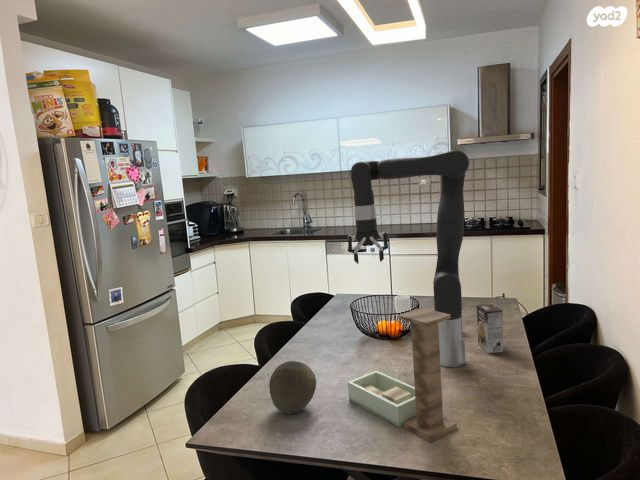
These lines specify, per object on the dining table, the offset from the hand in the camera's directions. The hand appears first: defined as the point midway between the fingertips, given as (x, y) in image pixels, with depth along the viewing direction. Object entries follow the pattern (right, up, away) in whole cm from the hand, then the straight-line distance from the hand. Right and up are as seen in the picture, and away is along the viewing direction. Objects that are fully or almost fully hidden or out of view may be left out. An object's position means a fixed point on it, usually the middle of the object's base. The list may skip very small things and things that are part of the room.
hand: (369, 262), depth 173 cm
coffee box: (+47, -33, +9) cm, 58 cm away
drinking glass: (+19, -32, +37) cm, 52 cm away
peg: (+2, -41, -28) cm, 50 cm away
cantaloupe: (-26, -44, -26) cm, 58 cm away
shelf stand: (+12, -43, -42) cm, 62 cm away
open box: (+3, -42, -28) cm, 51 cm away
